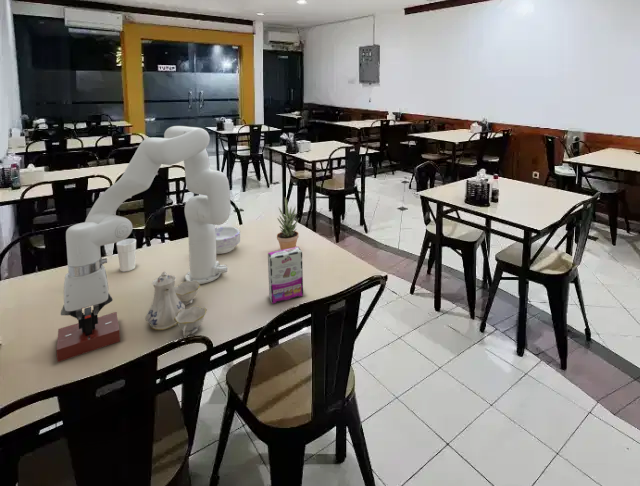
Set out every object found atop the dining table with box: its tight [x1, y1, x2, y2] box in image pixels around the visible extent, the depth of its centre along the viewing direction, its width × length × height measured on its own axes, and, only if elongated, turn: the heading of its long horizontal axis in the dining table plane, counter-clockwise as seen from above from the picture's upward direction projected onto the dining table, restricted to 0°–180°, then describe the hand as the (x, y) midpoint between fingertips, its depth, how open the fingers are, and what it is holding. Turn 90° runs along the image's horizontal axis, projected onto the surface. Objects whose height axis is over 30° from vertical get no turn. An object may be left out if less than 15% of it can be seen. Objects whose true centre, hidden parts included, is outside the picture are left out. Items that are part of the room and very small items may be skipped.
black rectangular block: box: [83, 306, 92, 336], centre depth 111 cm, size 6×2×5 cm, turn 37°
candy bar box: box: [267, 246, 304, 305], centre depth 134 cm, size 11×5×16 cm, turn 117°
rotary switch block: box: [56, 311, 121, 363], centre depth 111 cm, size 14×11×4 cm
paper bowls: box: [215, 226, 241, 255], centre depth 172 cm, size 15×15×8 cm
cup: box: [116, 238, 137, 272], centre depth 154 cm, size 7×7×11 cm
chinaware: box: [144, 271, 208, 338], centre depth 122 cm, size 28×17×17 cm, turn 35°
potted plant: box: [276, 197, 300, 250], centre depth 171 cm, size 10×10×25 cm
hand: (88, 327), depth 111 cm, fingers closed on black rectangular block
